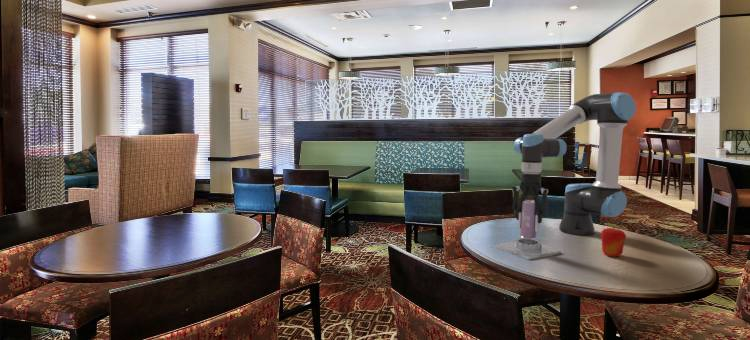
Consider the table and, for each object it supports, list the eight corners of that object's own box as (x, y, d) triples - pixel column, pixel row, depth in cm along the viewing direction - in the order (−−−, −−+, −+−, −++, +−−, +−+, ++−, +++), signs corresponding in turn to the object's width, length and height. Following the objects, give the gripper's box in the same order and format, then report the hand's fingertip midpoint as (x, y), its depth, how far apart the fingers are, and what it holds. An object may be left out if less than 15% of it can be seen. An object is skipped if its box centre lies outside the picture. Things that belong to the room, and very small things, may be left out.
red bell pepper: (629, 259, 157) (631, 228, 156) (606, 258, 158) (608, 228, 156) (616, 252, 166) (618, 223, 164) (595, 251, 166) (597, 223, 165)
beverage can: (538, 237, 168) (540, 201, 166) (532, 240, 163) (534, 203, 161) (523, 234, 171) (525, 199, 170) (518, 237, 167) (519, 201, 165)
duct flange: (527, 241, 180) (527, 233, 180) (561, 253, 164) (562, 244, 163) (495, 247, 172) (495, 238, 172) (528, 259, 156) (528, 250, 156)
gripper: (504, 171, 168) (502, 227, 170) (553, 175, 155) (549, 235, 158) (511, 170, 173) (509, 224, 176) (559, 173, 161) (555, 231, 164)
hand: (528, 229), depth 167 cm, fingers closed on beverage can, 6 cm apart
